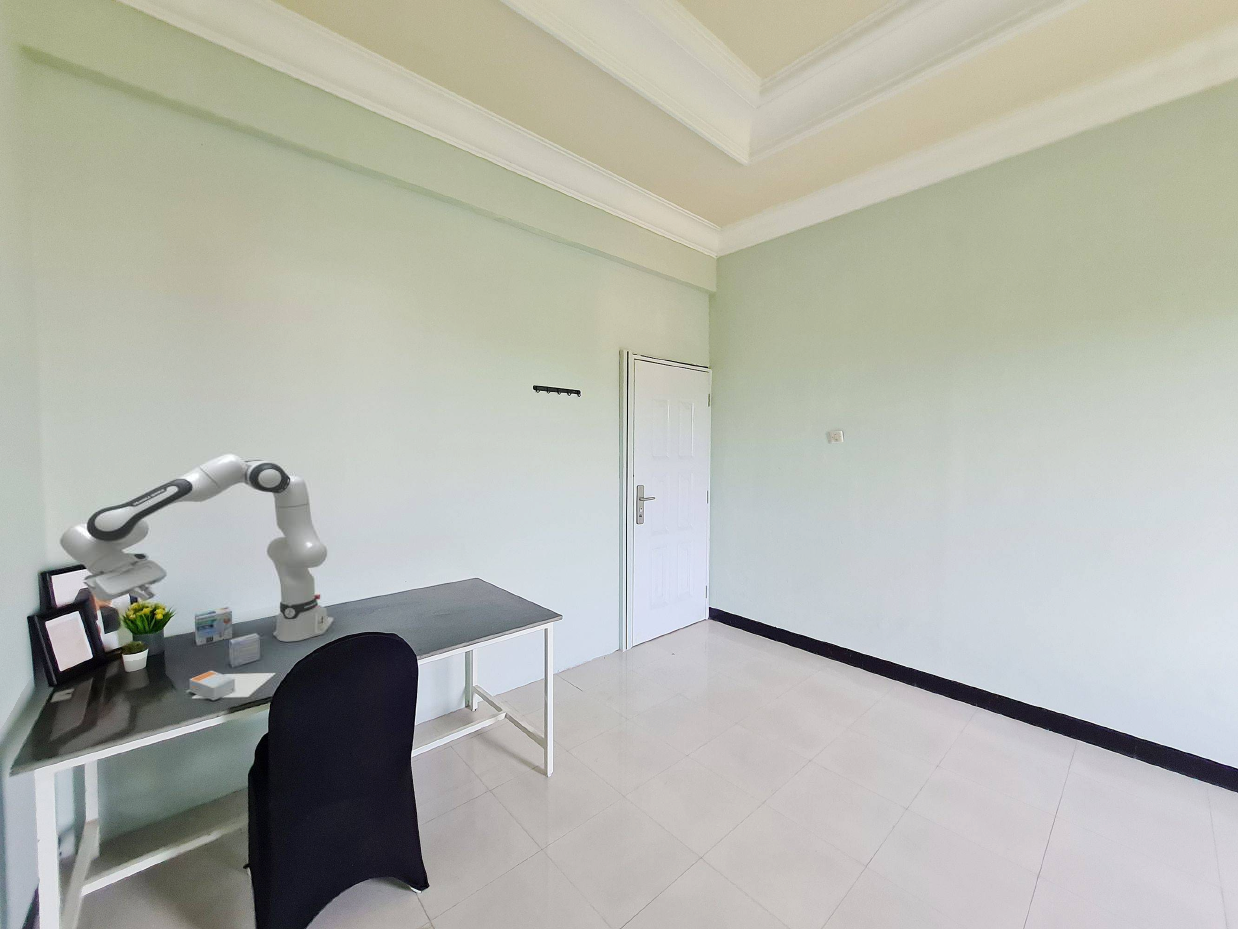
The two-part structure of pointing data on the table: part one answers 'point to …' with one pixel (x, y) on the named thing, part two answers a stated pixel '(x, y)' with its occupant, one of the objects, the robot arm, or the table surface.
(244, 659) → the medicine box
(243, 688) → the off-white mat
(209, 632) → the light bulb box
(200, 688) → the skincare box
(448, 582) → the table surface
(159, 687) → the table surface
